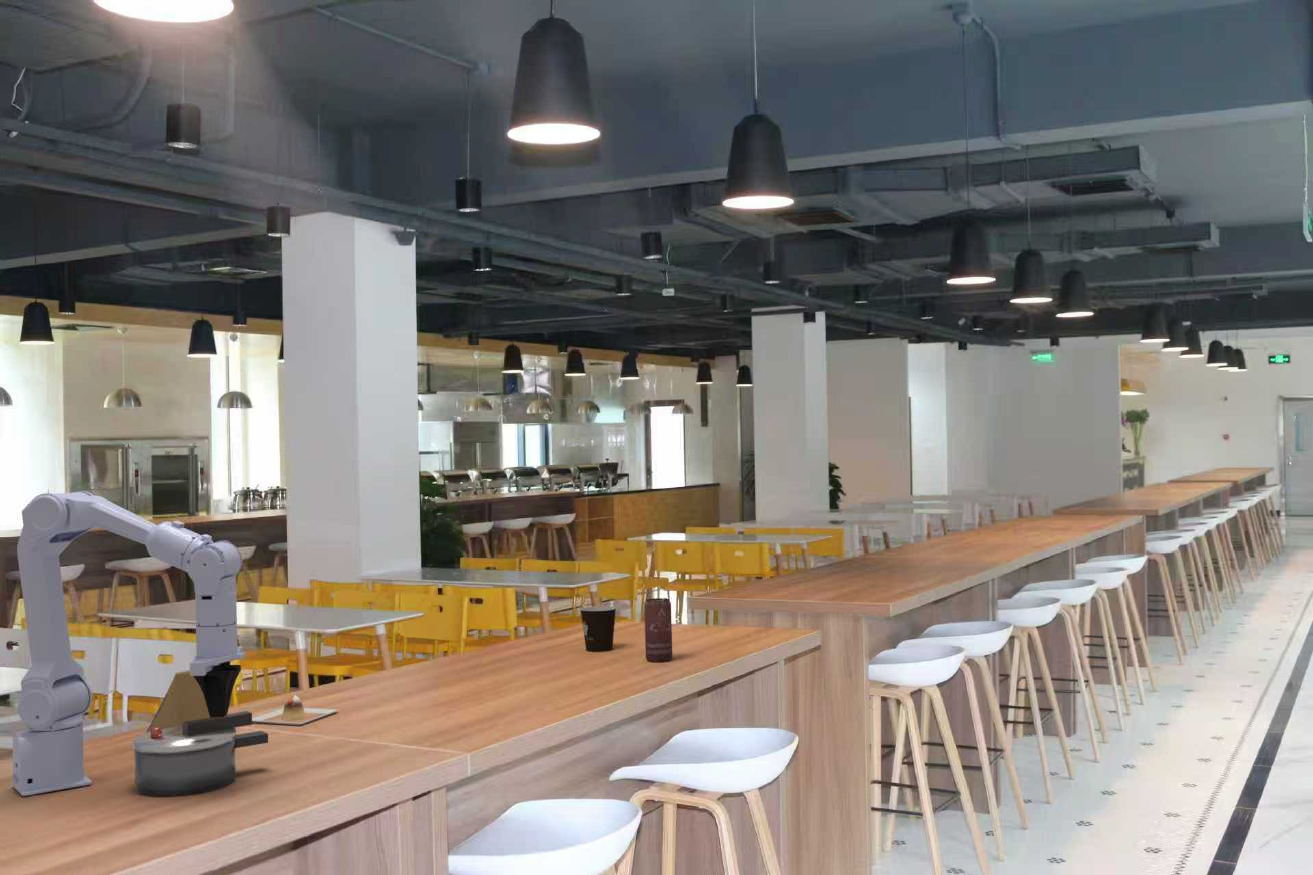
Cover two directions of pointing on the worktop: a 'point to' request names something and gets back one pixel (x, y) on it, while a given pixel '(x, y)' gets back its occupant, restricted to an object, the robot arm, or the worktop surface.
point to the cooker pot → (191, 768)
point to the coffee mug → (598, 628)
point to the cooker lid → (192, 735)
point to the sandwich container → (181, 703)
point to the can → (658, 630)
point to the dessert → (293, 713)
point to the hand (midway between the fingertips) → (218, 716)
